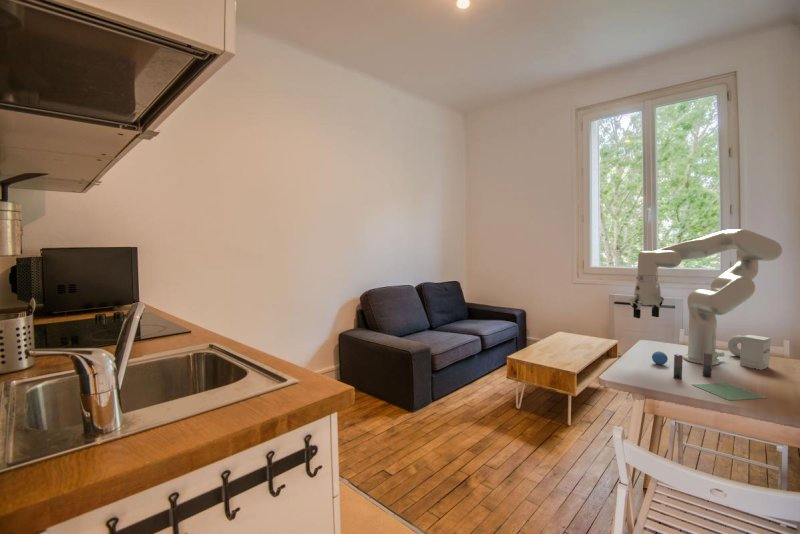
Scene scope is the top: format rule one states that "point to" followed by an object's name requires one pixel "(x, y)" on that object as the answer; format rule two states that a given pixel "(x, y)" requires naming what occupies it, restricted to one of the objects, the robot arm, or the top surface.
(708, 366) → the post
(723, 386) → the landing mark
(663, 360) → the ball
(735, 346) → the donut
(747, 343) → the supplement box
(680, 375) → the post
